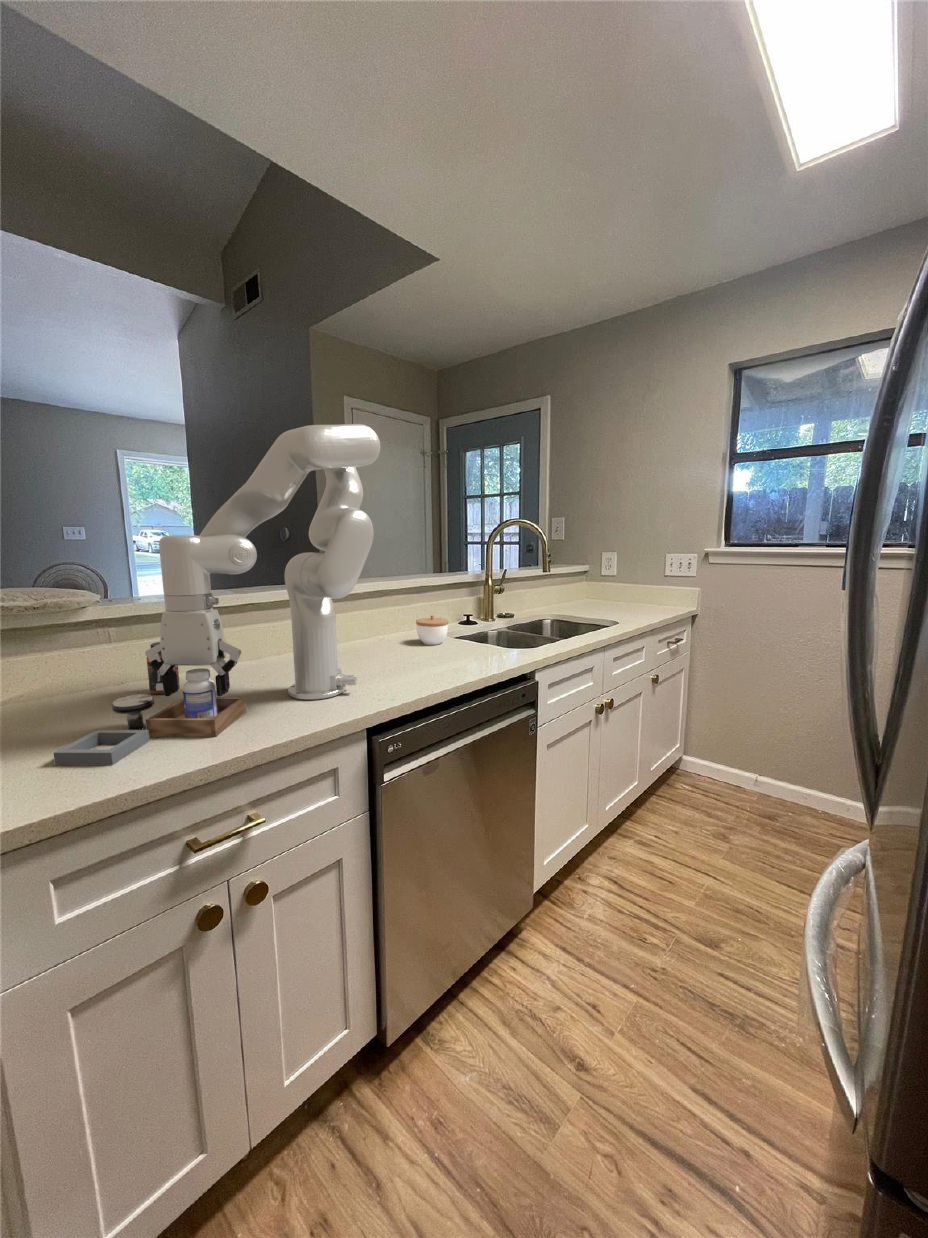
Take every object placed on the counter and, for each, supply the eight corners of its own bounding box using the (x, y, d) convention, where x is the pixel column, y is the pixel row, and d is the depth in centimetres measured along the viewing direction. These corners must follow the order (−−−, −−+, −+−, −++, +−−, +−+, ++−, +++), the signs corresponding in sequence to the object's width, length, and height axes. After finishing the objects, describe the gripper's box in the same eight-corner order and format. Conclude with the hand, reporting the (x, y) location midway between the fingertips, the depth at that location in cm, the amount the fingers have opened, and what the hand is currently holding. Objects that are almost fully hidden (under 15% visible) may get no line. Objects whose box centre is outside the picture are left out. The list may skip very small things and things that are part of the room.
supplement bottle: (166, 696, 108) (161, 646, 106) (143, 694, 109) (137, 645, 108) (186, 688, 114) (181, 641, 112) (164, 686, 115) (159, 639, 113)
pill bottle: (193, 715, 95) (189, 667, 93) (222, 714, 95) (218, 666, 94) (180, 726, 90) (175, 675, 88) (210, 725, 90) (206, 674, 88)
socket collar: (149, 740, 85) (148, 730, 84) (112, 764, 76) (111, 752, 75) (98, 740, 85) (96, 729, 84) (55, 764, 76) (53, 752, 75)
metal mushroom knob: (164, 722, 93) (161, 694, 92) (142, 735, 87) (138, 705, 86) (130, 722, 93) (127, 693, 92) (106, 735, 87) (102, 705, 86)
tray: (246, 712, 99) (245, 697, 98) (216, 736, 86) (214, 720, 86) (186, 712, 99) (184, 697, 98) (147, 736, 87) (145, 719, 86)
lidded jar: (455, 643, 163) (455, 615, 162) (431, 648, 156) (431, 619, 154) (433, 638, 170) (433, 612, 169) (409, 643, 163) (409, 615, 161)
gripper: (245, 601, 92) (251, 687, 95) (154, 600, 92) (163, 687, 95) (226, 606, 85) (233, 700, 88) (127, 606, 85) (138, 700, 88)
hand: (197, 693), depth 92 cm, fingers open, 9 cm apart
